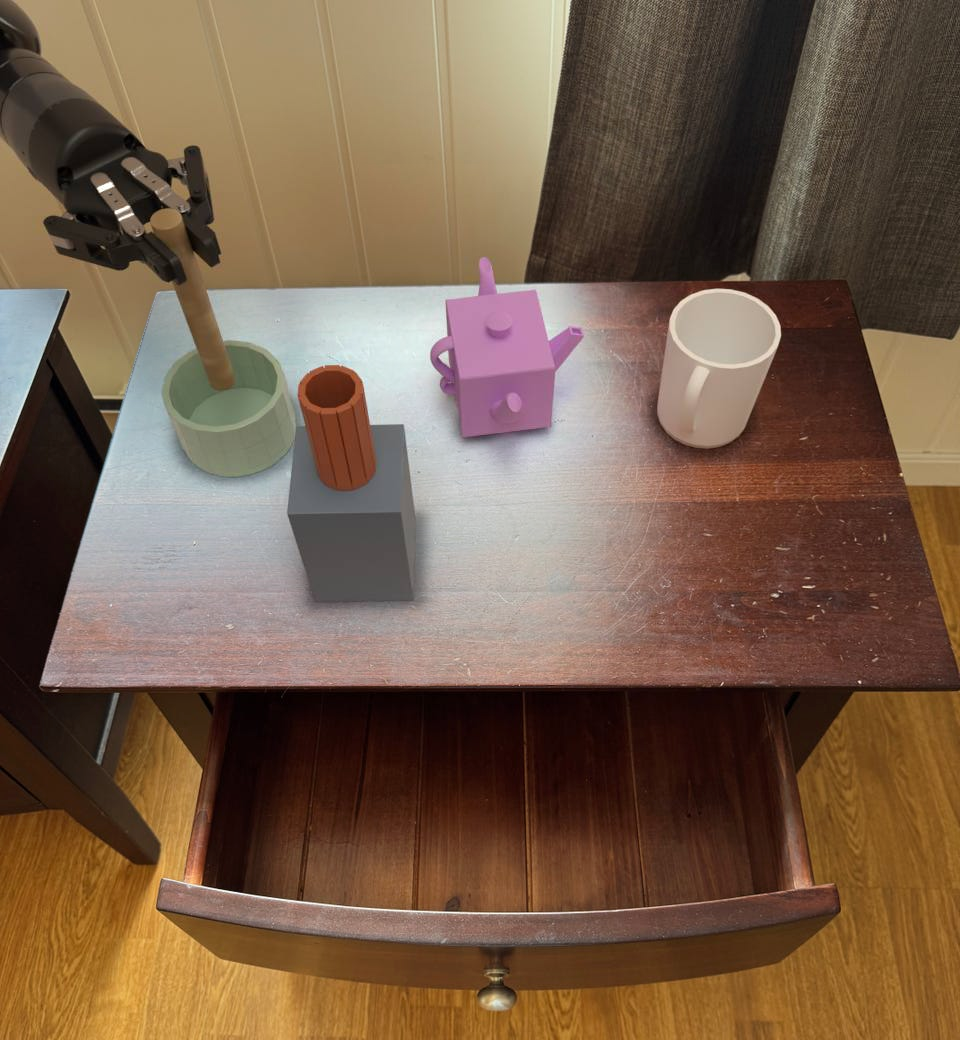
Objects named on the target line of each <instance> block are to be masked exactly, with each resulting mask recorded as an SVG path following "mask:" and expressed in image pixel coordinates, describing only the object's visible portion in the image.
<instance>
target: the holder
mask: <svg viewBox="0 0 960 1040" xmlns="http://www.w3.org/2000/svg"><path fill="white" fill-rule="evenodd" d="M297 399H298V403H299V407H300V412H301V415H302V418H303V423H304V425H296V431H295V438H294V441H293V453H292V460H291V470H290V471H291V472H290V482H289V492H288V493H289V494H288V499H287V500H288V502H287V511H286V514H287V518H288V522H289V524H290V528H291V531H292V534H293V538H294V540H295V543H296V547H297V550H298V552H299V556H300V559H301V562H302V565H303V569H304V571H305V575H306V578H307V581H308V584H309V587H310V590H311V594H312V596H313V599H314V602H315V603H333V602H336V603H337V602H338V603H340V602H382V601H383V602H388V601H414V599H415V571H416V569H415V565H416V564H415V563H416V527H417V526H416V524H417V523H416V522H417V518H416V511H415V504H414V496H413V487H412V479H411V473H410V472H411V471H410V464H409V456H408V455H409V454H408V447H407V438H406V431H405V430H406V429H405V424H403V423H401V424H400V423H396V424H394V423H393V424H371V422H370V417H369V411H368V410H369V409H368V404H367V398H366V391H365V386H364V382H363V380H362V378H361V377H360V376H359V374H358V373H357V372H356V371H355V370H354V369H352V368H349V367H347V366H344V365H340V364H325V365H324V366H323V365H321V366H319V367H317V368H314V369H312V370H309V372H307V373H306V374H305V375H304V376H303V377H302V379H301V380H300V381H299V383H298V385H297Z"/></svg>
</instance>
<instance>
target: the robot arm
mask: <svg viewBox="0 0 960 1040" xmlns="http://www.w3.org/2000/svg"><path fill="white" fill-rule="evenodd" d="M0 139H1V140H2V141H3V142H4V143H5V144H6V145H7V146H8V147H9V148H10V149H11V150H12V151H13V152H14V154H15V156H16V157H17V158H18V159H19V161H20V162H21V163H22V165H23V166H24V167H25V168H26V169H27V171H28V172H29V174H30V175H31V176H32V177H33V179H34V180H35V181H37V182H39V183H40V184H41V185H43V186H44V188H46V190H48V191H49V193H50V194H51V195H52V196H54V198H55V199H57V200H58V202H59V203H60V204H62V205H63V207H64V209H65V210H66V211H64V213H62V215H61V216H59V215H55V214H52V215H49V216H46V217H45V218H44V219H43V222H42V224H43V226H44V228H45V230H46V232H47V234H48V236H49V238H50V241H51V243H52V245H53V247H54V248H55V251H56V253H57V254H58V255H60V256H64V257H68V258H71V259H74V260H75V259H76V260H79V261H82V262H86V263H90V264H93V265H96V266H100V267H103V268H107V269H111V270H115V271H118V272H121V271H125V270H127V269H128V268H129V267H130V263H132V262H140V264H144V265H146V266H147V267H148V268H149V269H150V270H151V271H152V272H153V273H154V274H155V275H156V276H157V277H158V278H159V279H160V280H161V281H162V282H165V283H168V284H169V283H172V280H173V281H174V282H175V283H176V284H177V285H178V286H179V285H181V284H183V283H185V282H186V281H187V277H186V275H185V272H184V269H183V266H182V263H181V261H180V259H179V258H178V256H177V255H176V254H175V253H174V252H173V251H172V250H171V249H170V248H169V247H167V246H166V245H165V244H164V243H163V242H162V241H161V240H160V239H159V238H157V237H156V236H155V234H154V232H153V230H152V231H149V232H147V229H146V227H145V225H146V224H148V223H150V219H151V216H152V215H153V214H154V213H155V212H157V211H159V210H161V209H167V208H170V209H175V210H177V211H178V212H179V213H180V214H181V216H182V219H183V222H184V225H185V228H186V231H187V234H188V237H189V240H190V243H191V246H192V249H193V252H194V254H195V255H197V257H199V258H200V259H201V260H202V261H203V262H204V263H205V264H206V265H208V266H209V268H214V267H216V266H217V265H219V264H221V259H220V257H219V256H220V255H221V254H222V251H221V248H220V245H219V241H218V237H217V235H216V234H217V233H216V232H215V231H214V230H213V229H212V228H211V227H210V226H209V225H211V224H213V223H214V221H215V215H214V207H213V200H212V193H211V187H210V178H209V175H208V172H207V169H206V165H205V162H204V158H203V154H202V152H201V148H200V147H199V146H198V145H195V144H193V145H188V146H186V147H185V148H184V149H183V155H184V156H183V157H177V158H170V159H167V158H166V157H165V156H164V155H163V154H162V153H160V152H156V151H153V150H149V149H148V148H146V146H145V145H144V144H143V143H142V141H141V140H140V139H139V138H138V136H136V135H135V134H134V133H133V132H132V131H131V130H129V128H128V127H126V126H125V124H123V123H122V122H121V121H120V120H119V119H117V117H115V116H114V115H113V114H112V113H111V112H109V110H108V109H106V108H105V107H104V106H103V105H102V104H101V103H100V102H98V101H97V100H96V99H95V98H94V97H93V96H92V95H90V94H89V93H88V92H87V91H86V90H84V89H83V88H81V87H79V86H78V85H76V84H75V83H72V82H71V81H70V80H69V79H68V78H67V77H66V76H65V75H63V73H61V72H60V71H59V70H58V69H57V68H56V67H55V66H54V65H53V64H51V63H50V62H49V61H48V60H47V59H46V58H44V57H43V56H42V41H41V38H40V35H39V31H38V29H37V27H36V25H35V23H34V22H33V21H32V19H31V17H30V16H29V15H28V14H27V13H26V11H25V10H23V8H21V7H20V5H18V3H16V2H15V1H14V0H0ZM173 179H176V180H179V181H180V184H182V185H183V186H186V189H187V190H188V194H189V197H188V198H187V199H186V200H185V199H184V198H182V197H181V196H180V195H178V194H177V193H175V192H174V190H173V189H172V185H173Z"/></svg>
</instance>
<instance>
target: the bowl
mask: <svg viewBox="0 0 960 1040" xmlns="http://www.w3.org/2000/svg"><path fill="white" fill-rule="evenodd" d="M223 342H224V345H225V348H226V351H227V354H228V357H229V360H230V363H231V366H232V369H233V372H234V375H235V378H236V381H235V384H234V385H233V386H232V387H231V388H230V389H228V390H225V391H218V390H215V389H213V388H212V387H211V386H210V384H209V381H208V378H207V375H206V373H205V370H204V367H203V365H202V362H201V359H200V356H199V354H198V351H197V348H195V349H192V350H190V351H188V352H187V353H186V354H184V355H183V356H182V357H181V358H179V359H178V360H177V361H175V362H174V364H172V366H171V368H170V369H169V371H168V372H167V373H166V375H165V376H164V379H163V384H162V388H161V389H162V391H161V397H162V401H163V404H164V408H165V410H166V413H167V415H168V417H169V420H170V422H171V425H172V426H173V428H174V431H175V433H176V436H177V438H178V440H179V443H180V445H181V448H182V449H183V451H184V452H185V455H186V456H187V458H188V459H189V460H190V462H191V463H193V464H194V465H195V467H197V468H199V469H200V470H202V471H204V472H205V473H208V474H211V475H215V476H218V477H226V478H238V477H239V478H240V477H246V476H251V475H254V474H257V473H260V472H262V471H265V470H267V469H268V468H270V467H272V466H273V465H275V464H276V463H277V462H279V461H280V460H281V459H282V458H283V457H284V456H286V454H287V453H288V451H289V450H290V449H291V447H292V445H293V444H294V441H295V431H296V427H297V420H296V414H295V410H294V406H293V402H292V399H291V394H290V391H289V387H288V384H287V379H286V376H285V373H284V371H283V368H282V365H281V363H280V361H279V360H278V359H277V358H276V356H275V355H273V354H272V353H271V352H270V351H269V350H268V349H267V348H264V347H262V346H260V345H257V344H255V343H253V342H249V341H240V340H230V339H228V340H227V339H226V340H223Z"/></svg>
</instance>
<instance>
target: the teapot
mask: <svg viewBox="0 0 960 1040" xmlns="http://www.w3.org/2000/svg"><path fill="white" fill-rule="evenodd" d="M478 273H479V285H478V295H475V296H467V297H466V296H465V297H458V298H447V299H445V300H444V301H445V302H444V303H445V318H446V334H447V335H446V336H445V337H442V338H440V339H438V340H437V341H436V342H435V343H434V344H433V345H432V347H431V349H430V353H429V358H430V359H429V360H430V363H431V365H432V366H433V368H434V369H435V370H436V371H437V372H438V373H439V375H441V376H442V377H441V378H440V381H439V387H440V390H441V392H443V393H444V394H445V395H448V396H449V395H451V396H452V395H453V396H454V399H455V405H456V409H457V416H458V421H459V426H460V433H461V437H462V438H467V437H468V438H469V437H478V436H484V435H492V434H493V435H494V434H501V433H510V432H511V433H512V432H518V431H525V430H526V431H527V430H535V429H543V428H544V429H545V428H552V422H553V421H552V419H553V407H554V406H553V405H554V393H555V392H554V391H555V379H556V372H557V371H558V370H559V369H560V367H561V366H562V365H563V364H564V362H566V360H567V359H568V357H569V356H570V355H571V354H572V353H573V352H574V350H575V349H576V348H577V347H578V345H579V344H580V342H582V339H584V337H585V333H584V329H583V327H580V326H570V325H569V326H568V327H567V328H566V329H564V330H562V331H561V332H560V333H558V334H557V335H555V336H554V337H552V338H551V339H549V337H548V333H547V328H546V325H545V320H544V318H543V311H542V309H541V304H540V300H539V296H538V292H537V290H536V289H529V290H519V291H510V292H509V291H508V292H502V293H498V291H497V286H496V282H495V278H494V271H493V266H492V263H491V261H490V260H489V258H487V257H486V256H482V257H481V258H480V259H479V261H478ZM447 351H448V352H447ZM445 352H447V353H448V363H449V365H447V364H446V363H445V362H443V361H442V359H440V356H441V355H442V354H443V353H445Z"/></svg>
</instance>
